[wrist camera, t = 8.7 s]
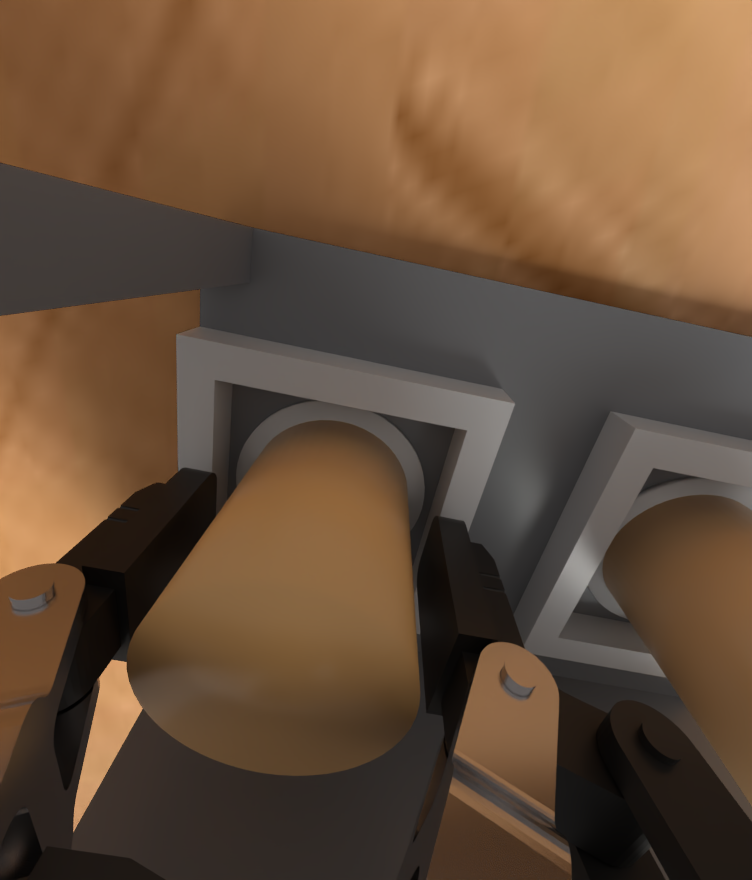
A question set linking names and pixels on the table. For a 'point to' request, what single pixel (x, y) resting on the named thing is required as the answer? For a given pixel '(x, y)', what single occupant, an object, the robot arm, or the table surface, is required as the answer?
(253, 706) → the beige rounded cylinder
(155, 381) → the table surface
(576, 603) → the housing
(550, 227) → the table surface
